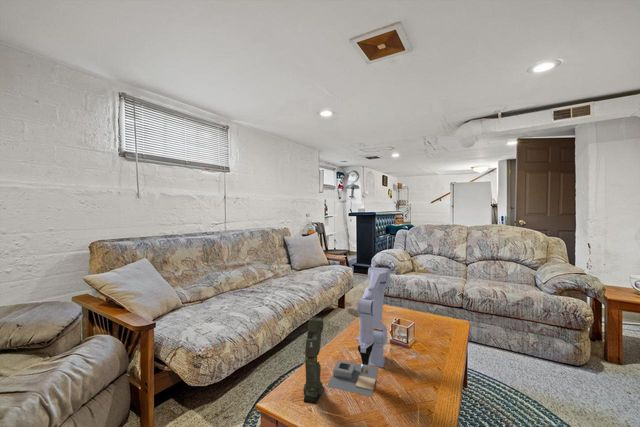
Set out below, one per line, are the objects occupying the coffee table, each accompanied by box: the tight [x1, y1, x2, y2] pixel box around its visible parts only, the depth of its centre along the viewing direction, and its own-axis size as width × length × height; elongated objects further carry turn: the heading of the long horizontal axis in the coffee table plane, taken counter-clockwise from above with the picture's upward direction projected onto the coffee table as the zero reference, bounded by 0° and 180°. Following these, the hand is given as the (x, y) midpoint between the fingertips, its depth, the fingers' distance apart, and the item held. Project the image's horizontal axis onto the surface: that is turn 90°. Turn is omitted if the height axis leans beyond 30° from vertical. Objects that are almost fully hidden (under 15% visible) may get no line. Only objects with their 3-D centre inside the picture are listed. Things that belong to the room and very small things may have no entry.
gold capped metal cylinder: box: [360, 356, 371, 374], centre depth 112 cm, size 3×3×8 cm
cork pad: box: [356, 376, 377, 392], centre depth 112 cm, size 7×7×1 cm
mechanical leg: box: [303, 315, 324, 405], centre depth 107 cm, size 14×7×30 cm, turn 169°
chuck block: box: [332, 359, 356, 380], centre depth 119 cm, size 8×8×3 cm
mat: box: [326, 362, 379, 398], centre depth 117 cm, size 20×18×1 cm
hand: (366, 361), depth 112 cm, fingers closed on gold capped metal cylinder, 3 cm apart
